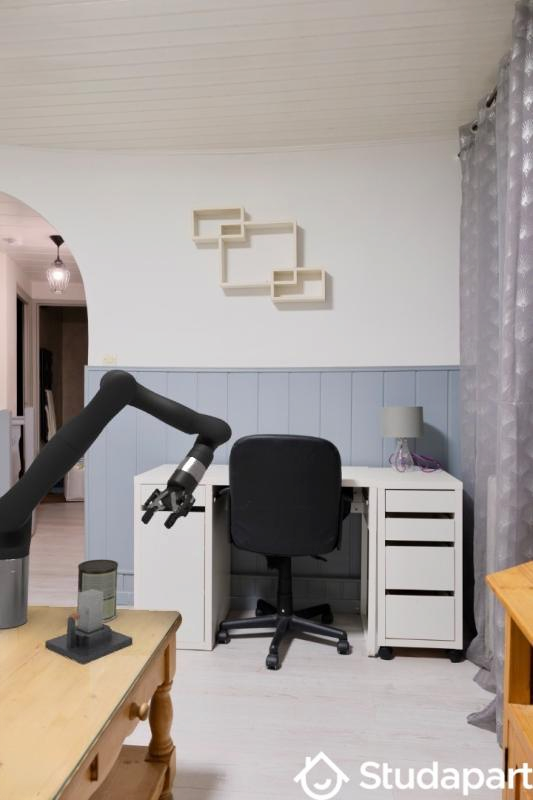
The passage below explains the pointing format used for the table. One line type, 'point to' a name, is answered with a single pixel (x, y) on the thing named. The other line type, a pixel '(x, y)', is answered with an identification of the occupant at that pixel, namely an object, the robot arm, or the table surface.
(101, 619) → the steel column
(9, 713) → the table surface
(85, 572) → the coffee can
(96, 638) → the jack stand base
